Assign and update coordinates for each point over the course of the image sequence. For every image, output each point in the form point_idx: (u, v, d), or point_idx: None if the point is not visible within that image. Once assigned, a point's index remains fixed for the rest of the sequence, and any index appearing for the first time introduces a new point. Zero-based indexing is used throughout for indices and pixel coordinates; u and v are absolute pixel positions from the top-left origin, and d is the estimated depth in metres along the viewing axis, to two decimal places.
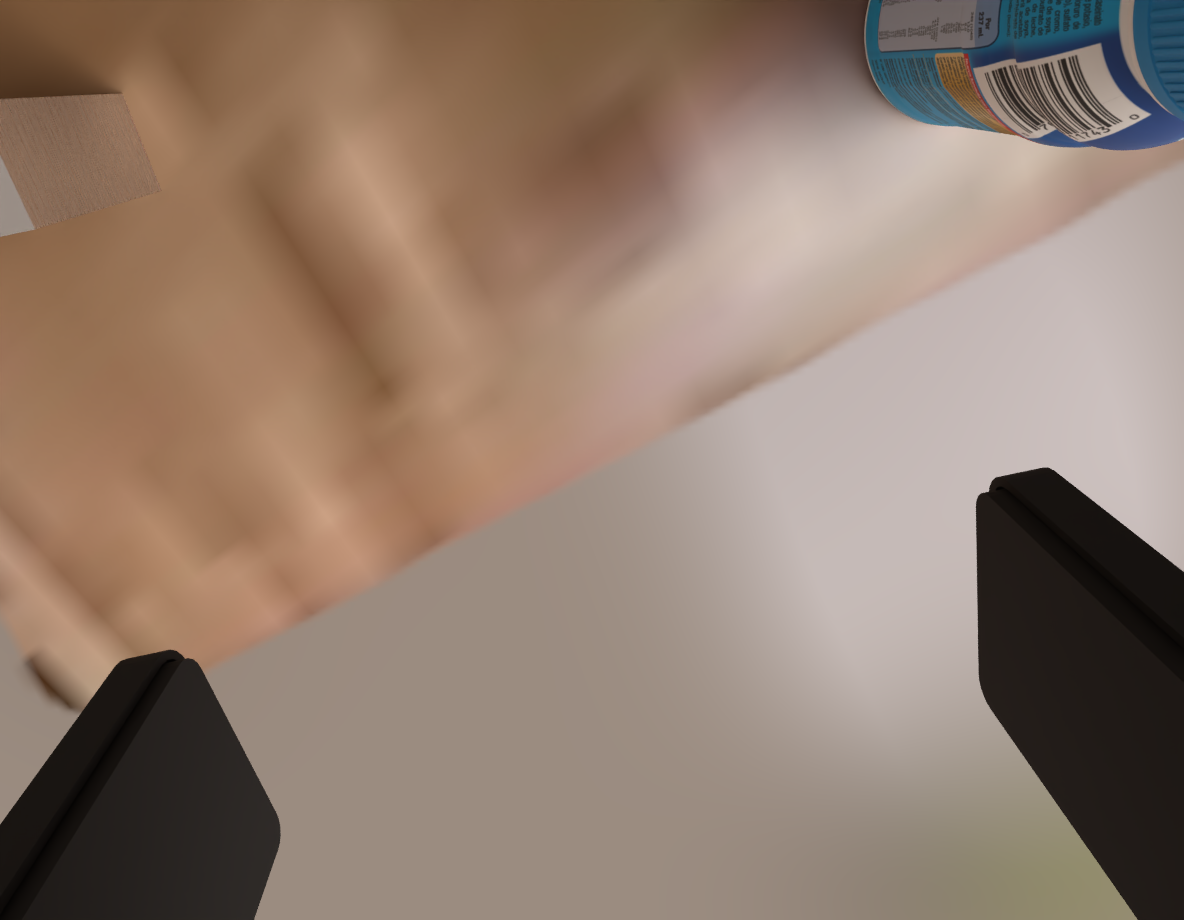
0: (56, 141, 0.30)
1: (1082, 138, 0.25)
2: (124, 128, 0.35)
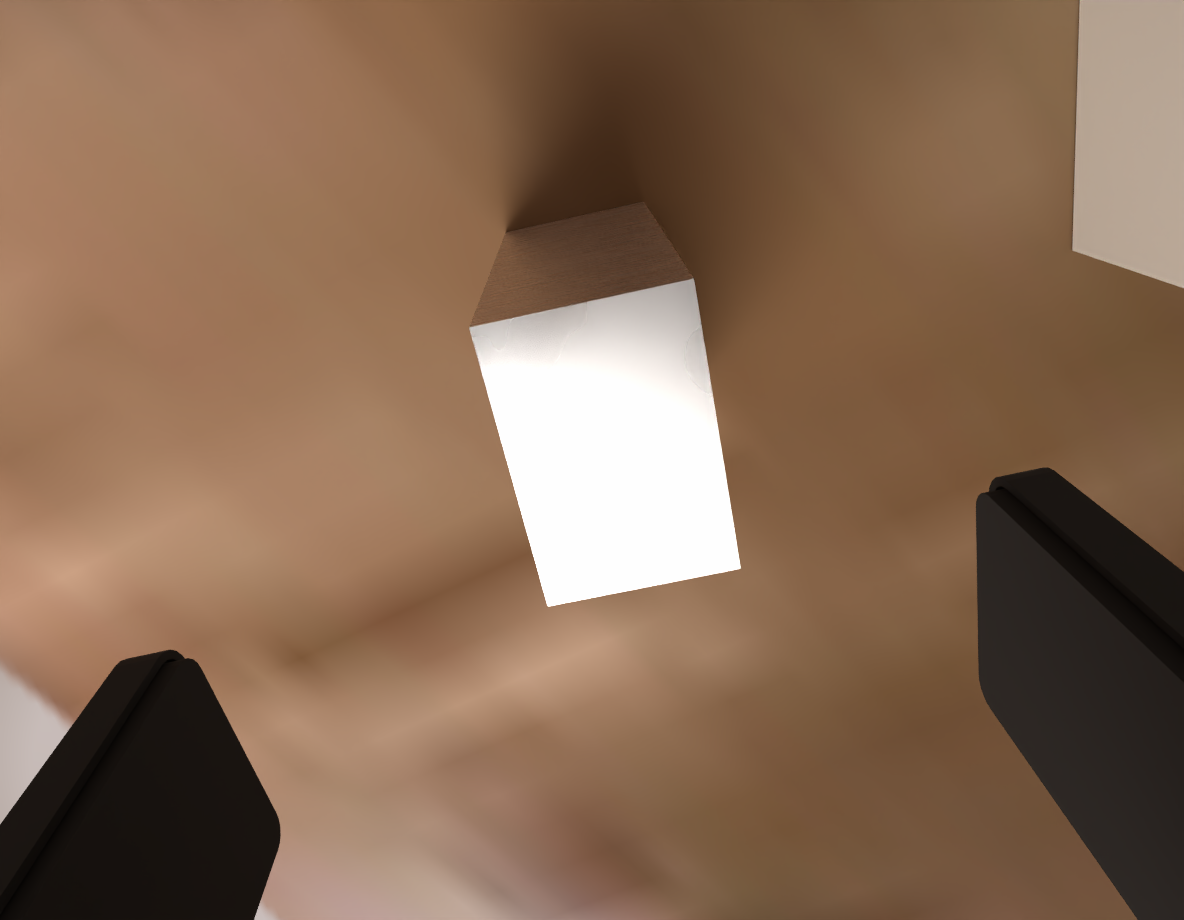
0: None
1: None
2: None
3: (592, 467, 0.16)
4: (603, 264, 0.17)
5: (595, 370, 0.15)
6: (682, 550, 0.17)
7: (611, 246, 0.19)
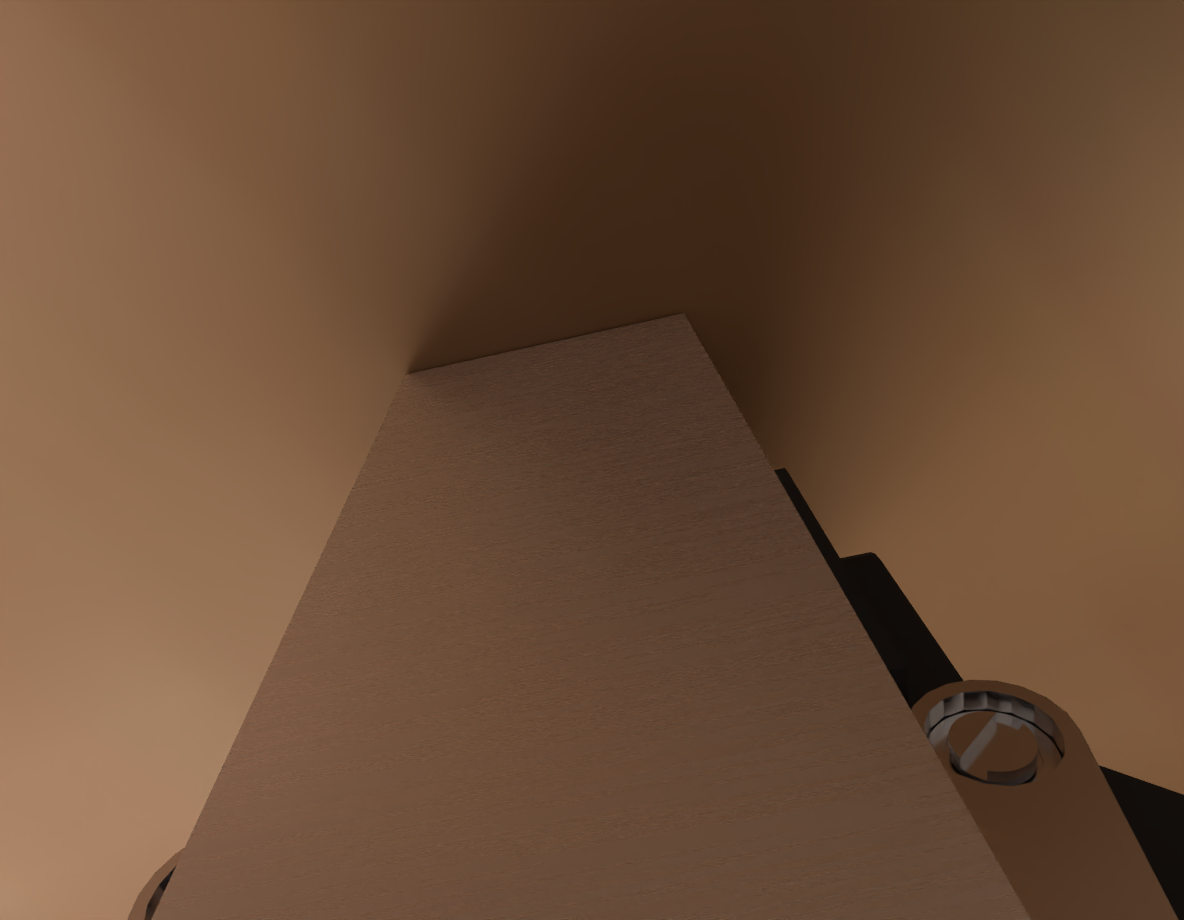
0: None
1: None
2: None
3: None
4: (624, 674, 0.05)
5: None
6: None
7: (637, 525, 0.07)
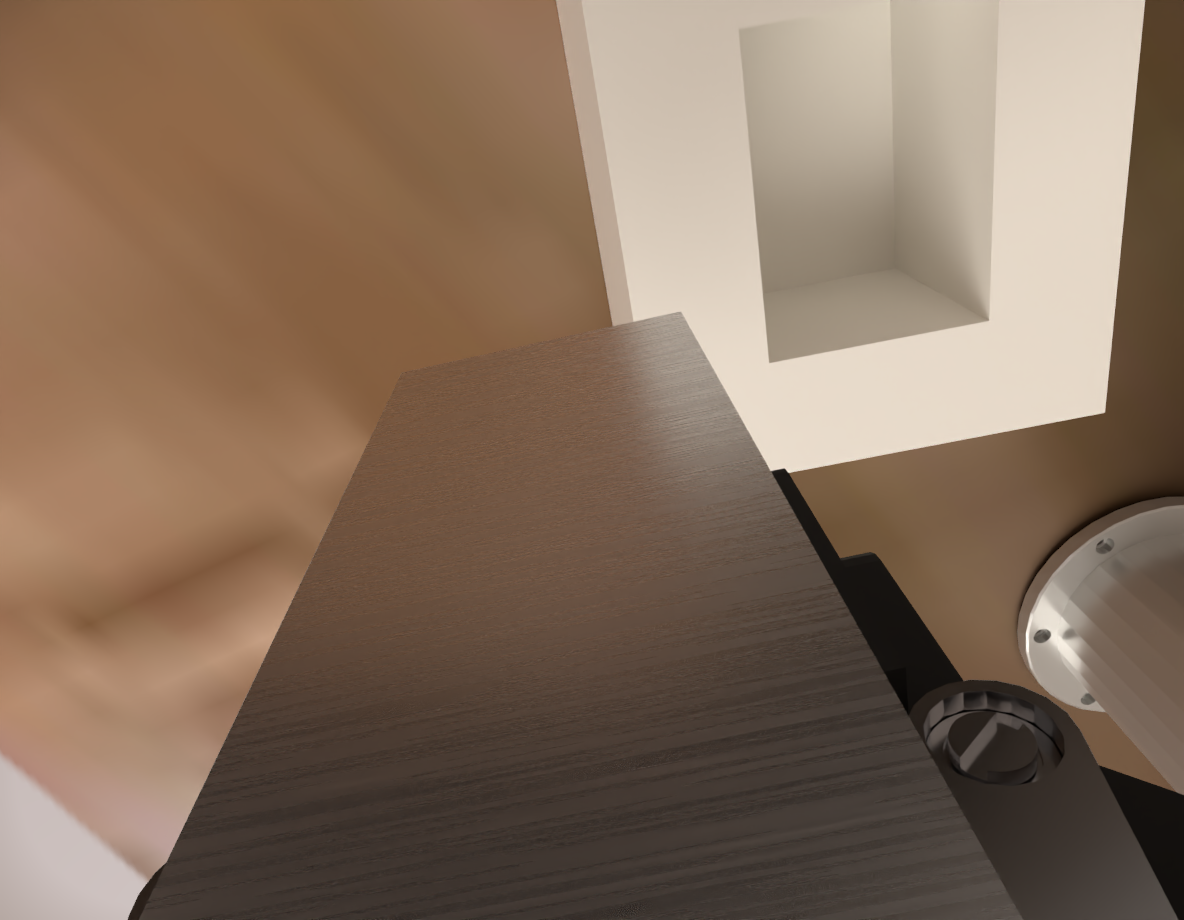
0: None
1: None
2: None
3: None
4: (616, 671, 0.05)
5: None
6: None
7: (631, 522, 0.07)
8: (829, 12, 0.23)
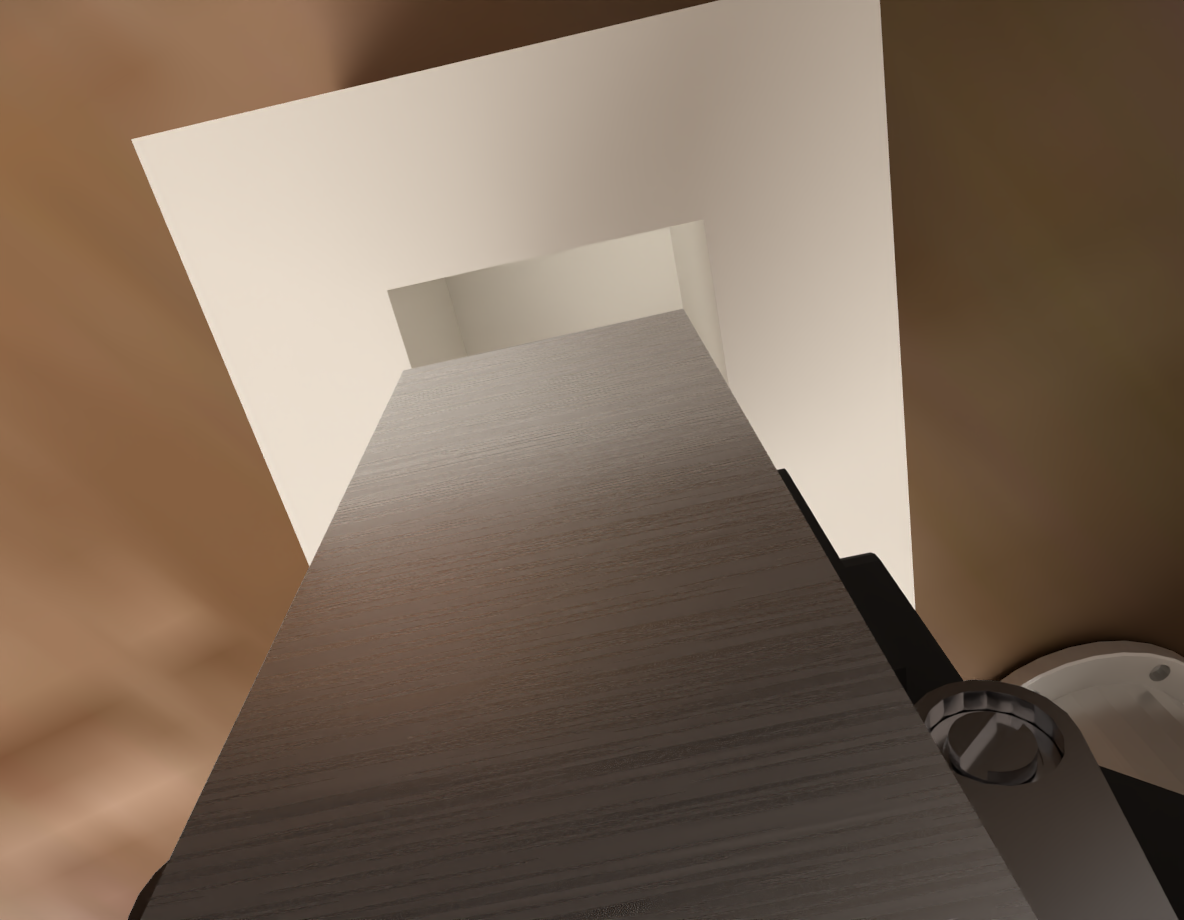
0: None
1: None
2: None
3: None
4: (622, 668, 0.05)
5: None
6: None
7: (635, 519, 0.07)
8: None
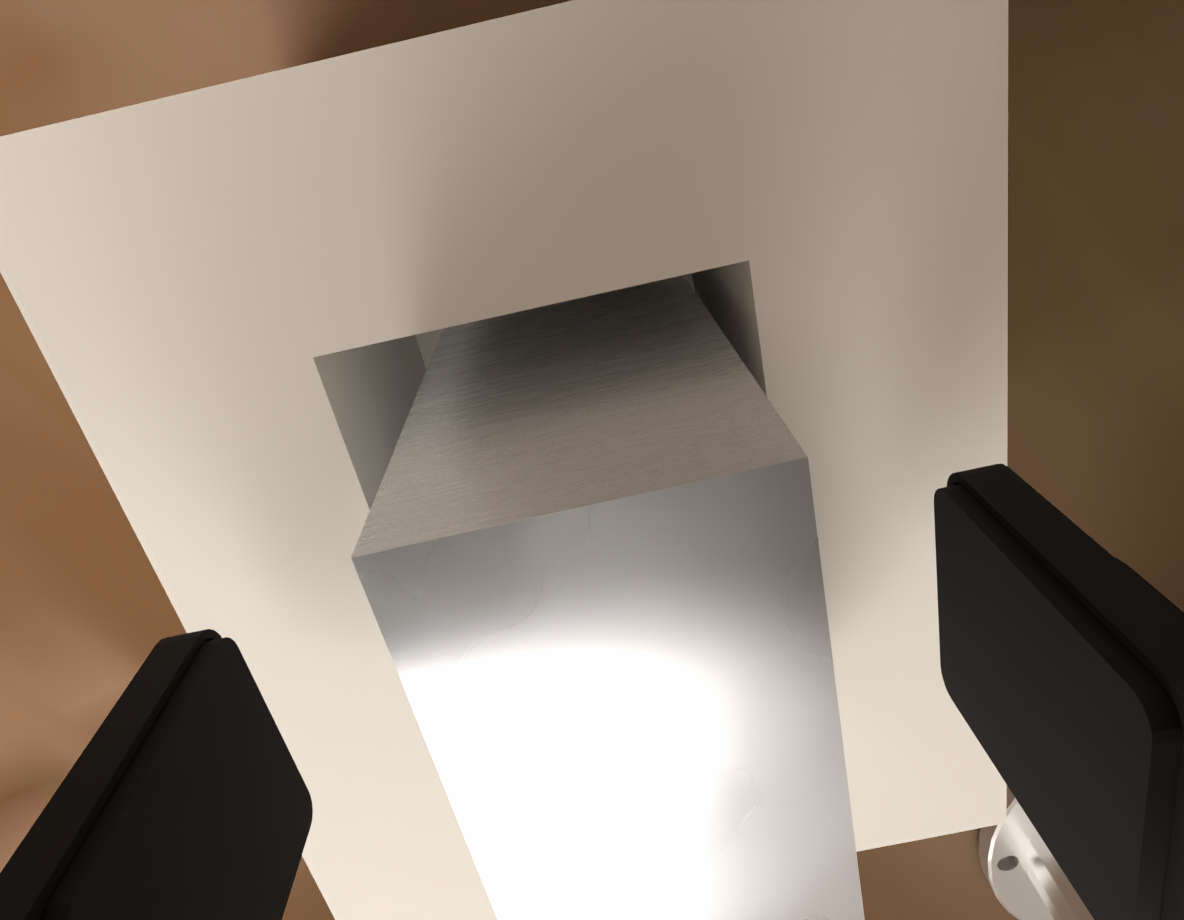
0: None
1: None
2: None
3: (600, 781, 0.08)
4: (613, 384, 0.10)
5: (607, 625, 0.08)
6: (764, 898, 0.09)
7: (622, 336, 0.11)
8: None
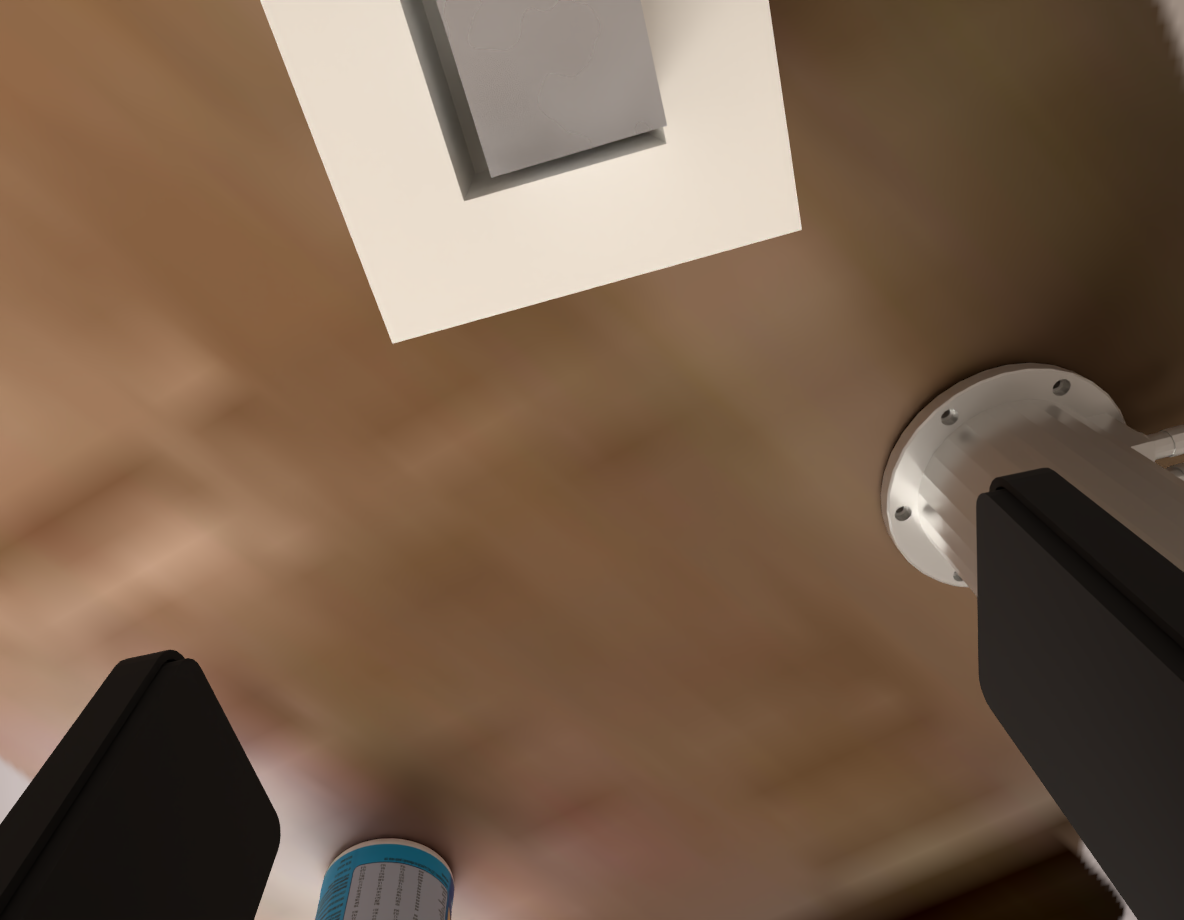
0: None
1: None
2: None
3: (518, 14, 0.17)
4: None
5: None
6: (612, 106, 0.18)
7: None
8: None
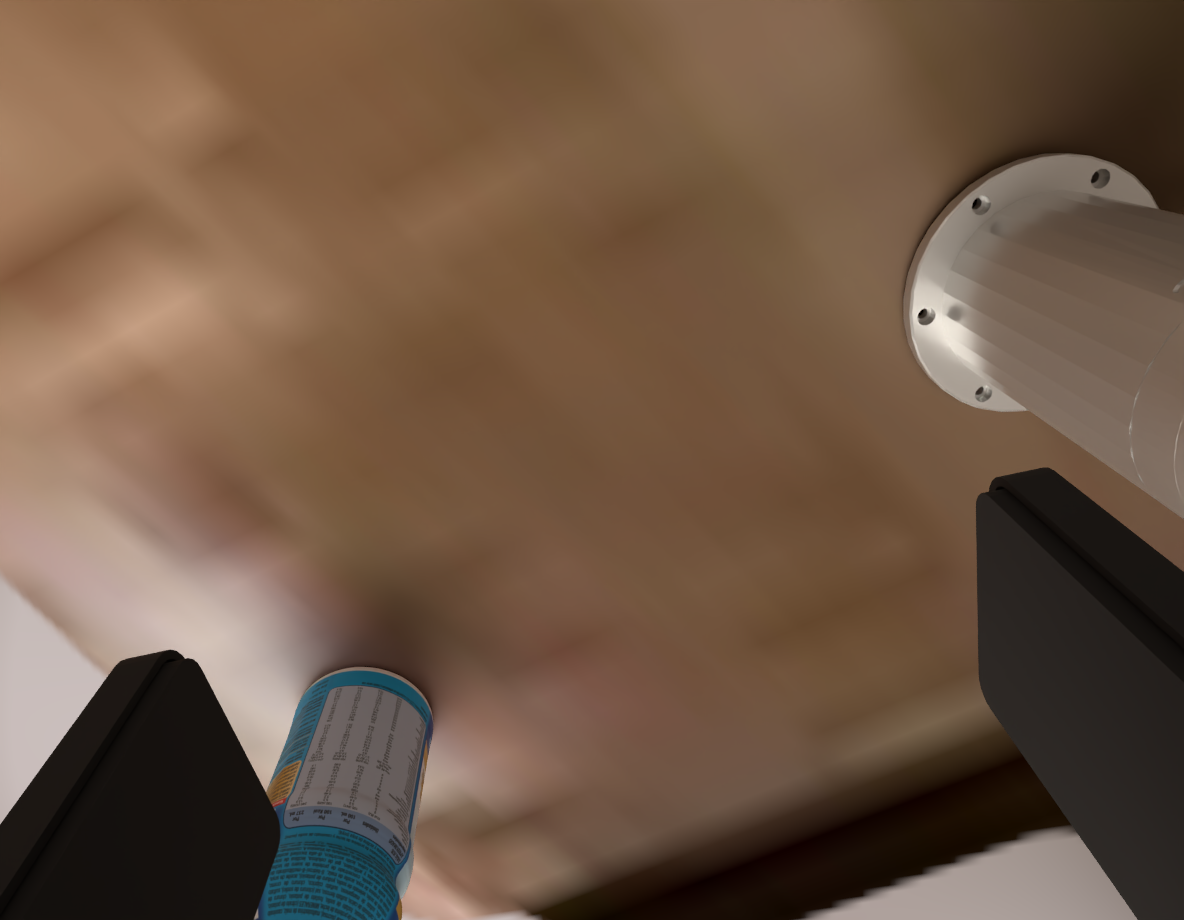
0: None
1: None
2: None
3: None
4: None
5: None
6: None
7: None
8: None
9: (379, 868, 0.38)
